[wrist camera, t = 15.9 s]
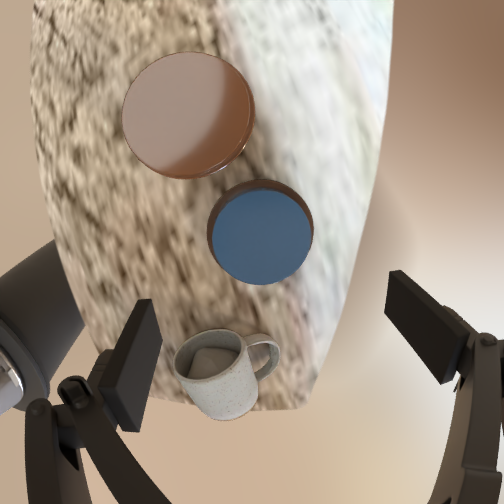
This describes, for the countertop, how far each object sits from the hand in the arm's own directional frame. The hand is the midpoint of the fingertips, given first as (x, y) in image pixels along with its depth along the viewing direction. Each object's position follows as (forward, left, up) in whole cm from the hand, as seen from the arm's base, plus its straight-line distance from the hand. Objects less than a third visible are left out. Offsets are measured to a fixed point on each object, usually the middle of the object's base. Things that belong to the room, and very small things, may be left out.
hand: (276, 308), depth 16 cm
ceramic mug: (+3, -14, -14) cm, 20 cm away
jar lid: (0, 0, -12) cm, 12 cm away
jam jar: (-9, +7, -14) cm, 18 cm away
